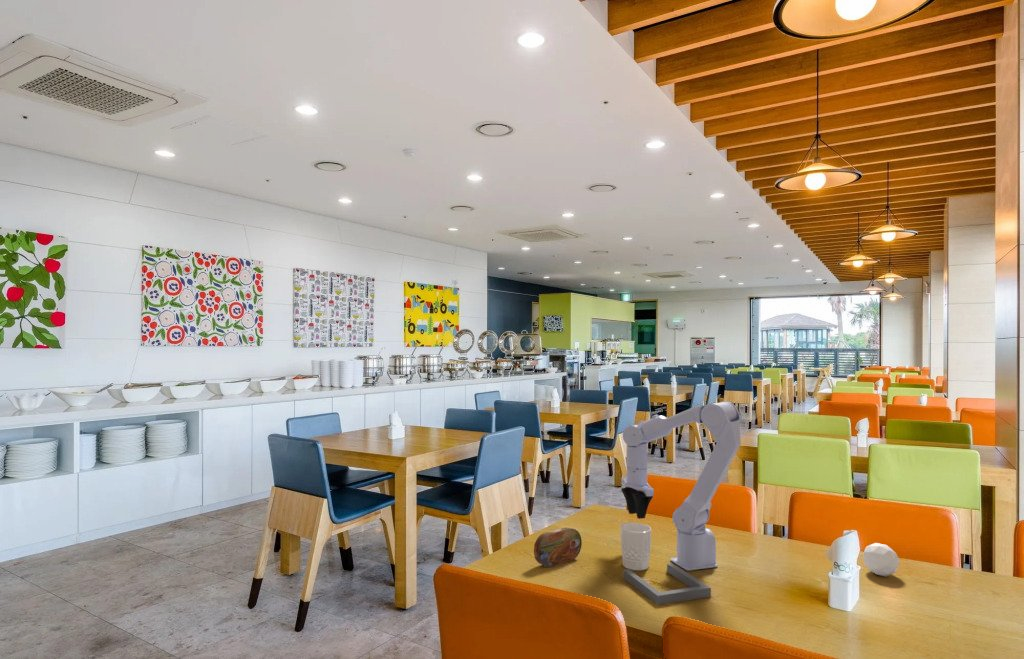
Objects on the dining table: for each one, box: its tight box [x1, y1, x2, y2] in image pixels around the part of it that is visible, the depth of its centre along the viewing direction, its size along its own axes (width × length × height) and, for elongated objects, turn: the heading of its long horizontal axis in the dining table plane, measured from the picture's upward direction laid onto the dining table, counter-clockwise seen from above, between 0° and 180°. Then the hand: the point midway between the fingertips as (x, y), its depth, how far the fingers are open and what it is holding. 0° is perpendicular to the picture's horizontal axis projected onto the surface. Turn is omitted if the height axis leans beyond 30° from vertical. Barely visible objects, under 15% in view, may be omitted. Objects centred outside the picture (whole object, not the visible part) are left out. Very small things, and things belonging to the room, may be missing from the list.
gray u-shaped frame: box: [622, 562, 712, 606], centre depth 137 cm, size 14×16×2 cm
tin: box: [533, 527, 583, 568], centre depth 152 cm, size 15×3×8 cm, turn 126°
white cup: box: [619, 522, 652, 571], centre depth 150 cm, size 8×8×10 cm
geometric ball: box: [862, 542, 900, 577], centre depth 145 cm, size 8×8×8 cm
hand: (636, 515), depth 162 cm, fingers open, 4 cm apart
